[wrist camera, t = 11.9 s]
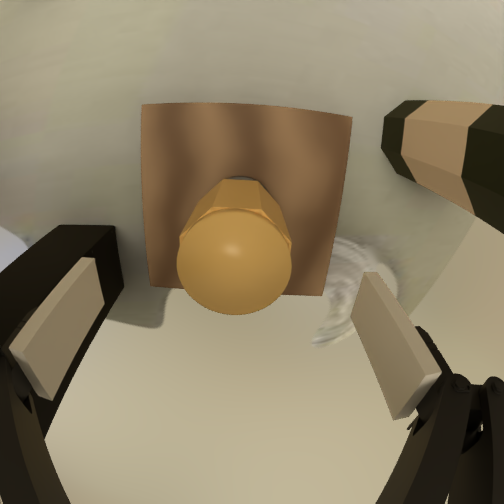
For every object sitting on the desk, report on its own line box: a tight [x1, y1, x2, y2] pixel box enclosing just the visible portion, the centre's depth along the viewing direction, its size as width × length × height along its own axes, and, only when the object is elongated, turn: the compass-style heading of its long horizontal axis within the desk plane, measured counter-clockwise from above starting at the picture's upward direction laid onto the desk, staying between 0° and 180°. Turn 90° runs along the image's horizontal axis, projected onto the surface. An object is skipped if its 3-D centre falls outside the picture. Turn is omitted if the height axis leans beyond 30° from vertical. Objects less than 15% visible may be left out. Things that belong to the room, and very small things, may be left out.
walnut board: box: [141, 103, 352, 296], centre depth 26 cm, size 18×18×2 cm
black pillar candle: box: [0, 225, 124, 439], centre depth 17 cm, size 8×8×28 cm
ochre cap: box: [177, 179, 292, 315], centre depth 19 cm, size 6×6×8 cm
